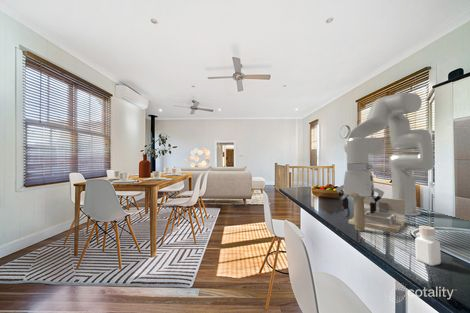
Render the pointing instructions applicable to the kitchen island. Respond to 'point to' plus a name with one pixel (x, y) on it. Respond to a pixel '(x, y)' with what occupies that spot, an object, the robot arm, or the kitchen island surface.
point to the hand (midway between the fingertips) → (358, 210)
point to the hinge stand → (384, 215)
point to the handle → (358, 211)
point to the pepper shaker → (427, 246)
